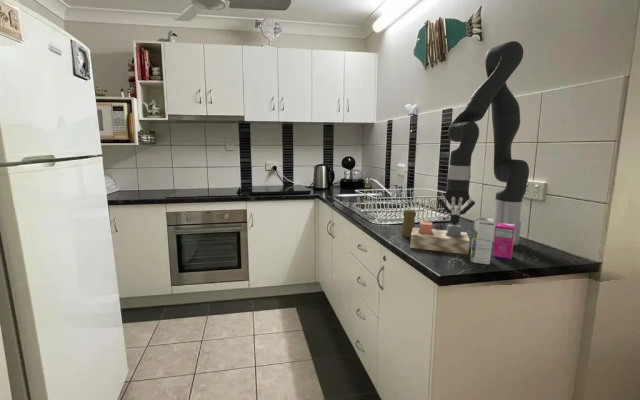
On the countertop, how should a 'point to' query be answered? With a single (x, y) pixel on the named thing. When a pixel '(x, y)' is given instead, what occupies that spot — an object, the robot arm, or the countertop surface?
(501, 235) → the supplement box
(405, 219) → the cork
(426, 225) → the terracotta plug
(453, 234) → the grey plug
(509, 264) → the countertop surface
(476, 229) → the syrup box
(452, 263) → the countertop surface
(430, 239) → the block
